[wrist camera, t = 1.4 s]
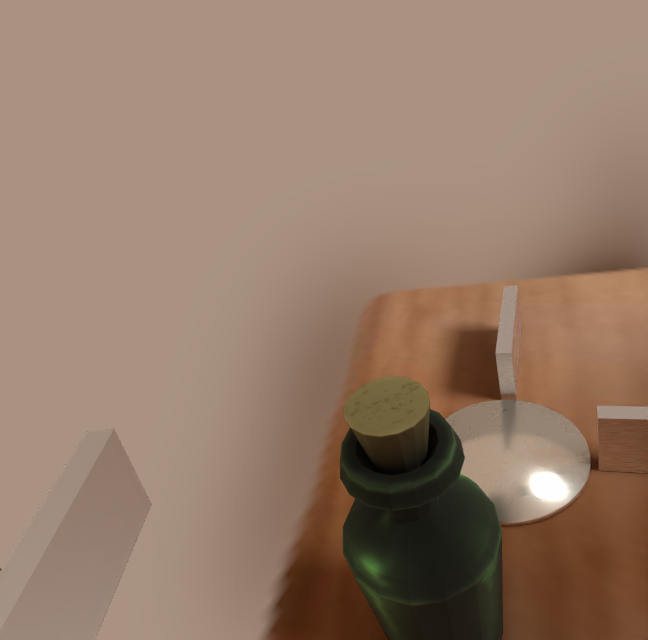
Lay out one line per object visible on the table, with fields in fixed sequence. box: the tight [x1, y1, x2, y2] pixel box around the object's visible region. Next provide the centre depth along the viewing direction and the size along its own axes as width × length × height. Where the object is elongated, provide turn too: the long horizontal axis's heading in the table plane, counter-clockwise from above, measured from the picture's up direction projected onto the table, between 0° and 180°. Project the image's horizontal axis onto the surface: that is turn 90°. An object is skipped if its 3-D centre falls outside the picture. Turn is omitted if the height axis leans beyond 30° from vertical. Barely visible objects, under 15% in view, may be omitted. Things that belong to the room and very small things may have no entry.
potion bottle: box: [340, 377, 503, 640], centre depth 31 cm, size 8×8×18 cm
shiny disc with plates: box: [445, 285, 648, 526], centre depth 44 cm, size 19×24×5 cm
